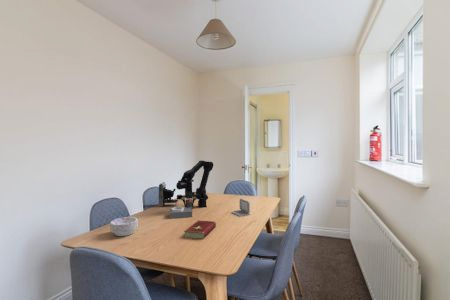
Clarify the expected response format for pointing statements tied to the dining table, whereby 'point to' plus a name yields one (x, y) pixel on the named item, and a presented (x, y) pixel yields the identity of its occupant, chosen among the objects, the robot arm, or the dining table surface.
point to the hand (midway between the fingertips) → (188, 207)
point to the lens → (189, 203)
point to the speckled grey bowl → (123, 226)
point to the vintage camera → (165, 195)
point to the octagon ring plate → (180, 212)
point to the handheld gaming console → (243, 208)
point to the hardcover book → (200, 229)
